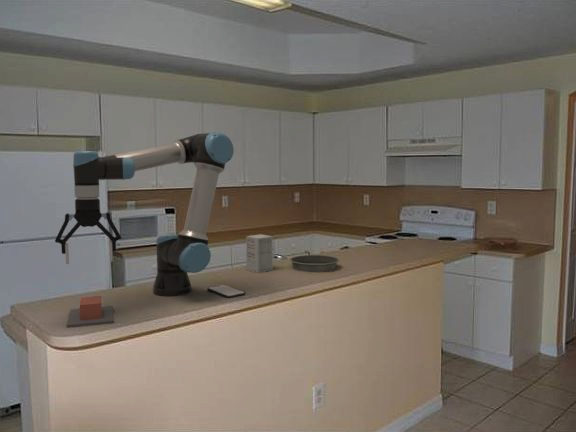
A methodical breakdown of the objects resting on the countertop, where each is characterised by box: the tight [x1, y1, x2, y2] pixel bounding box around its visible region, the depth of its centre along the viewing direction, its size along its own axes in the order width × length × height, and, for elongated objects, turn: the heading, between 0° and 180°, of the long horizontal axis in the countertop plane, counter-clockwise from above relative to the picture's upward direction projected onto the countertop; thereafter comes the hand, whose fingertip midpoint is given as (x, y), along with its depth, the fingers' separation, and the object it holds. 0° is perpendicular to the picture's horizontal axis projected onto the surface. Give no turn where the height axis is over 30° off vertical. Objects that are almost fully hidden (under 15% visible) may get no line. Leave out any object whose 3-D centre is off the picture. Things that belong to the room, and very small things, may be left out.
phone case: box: [206, 284, 246, 299], centre depth 203 cm, size 9×2×16 cm
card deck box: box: [79, 295, 103, 320], centre depth 169 cm, size 10×6×5 cm, turn 20°
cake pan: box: [289, 254, 340, 273], centre depth 253 cm, size 25×25×4 cm
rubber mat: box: [66, 305, 115, 328], centre depth 170 cm, size 14×18×1 cm
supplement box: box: [245, 233, 273, 274], centre depth 245 cm, size 10×9×17 cm
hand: (89, 262), depth 168 cm, fingers open, 13 cm apart
